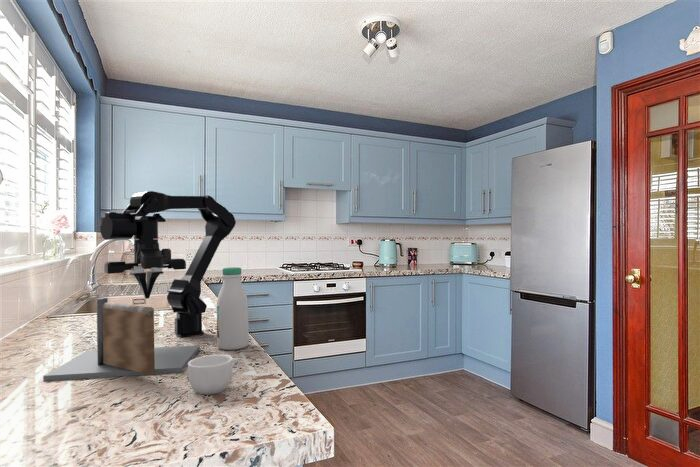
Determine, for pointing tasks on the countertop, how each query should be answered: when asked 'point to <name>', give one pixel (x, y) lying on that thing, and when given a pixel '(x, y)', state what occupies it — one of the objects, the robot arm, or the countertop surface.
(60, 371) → the board
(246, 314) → the milk bottle
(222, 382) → the teacup
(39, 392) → the countertop surface
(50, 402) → the countertop surface
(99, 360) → the hinge post
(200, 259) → the robot arm
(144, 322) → the panel
